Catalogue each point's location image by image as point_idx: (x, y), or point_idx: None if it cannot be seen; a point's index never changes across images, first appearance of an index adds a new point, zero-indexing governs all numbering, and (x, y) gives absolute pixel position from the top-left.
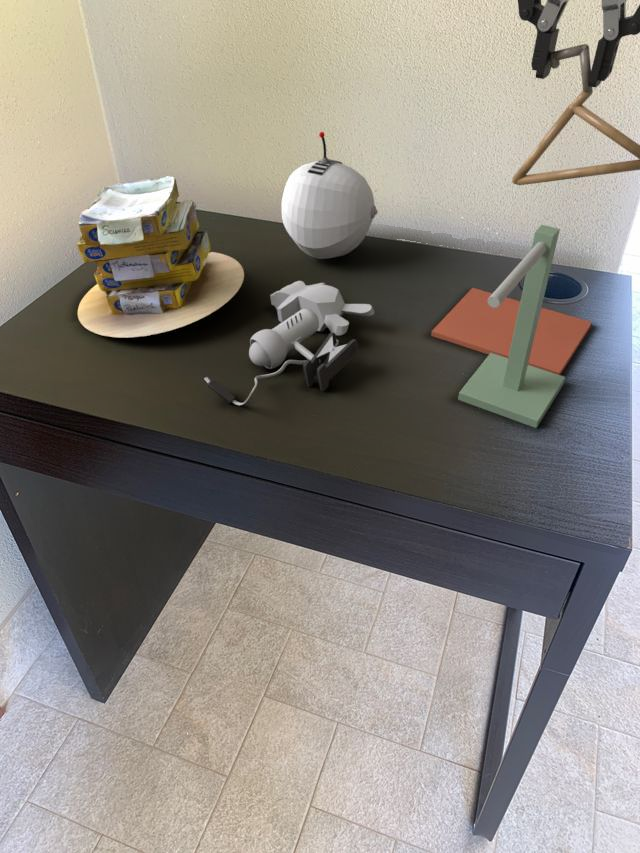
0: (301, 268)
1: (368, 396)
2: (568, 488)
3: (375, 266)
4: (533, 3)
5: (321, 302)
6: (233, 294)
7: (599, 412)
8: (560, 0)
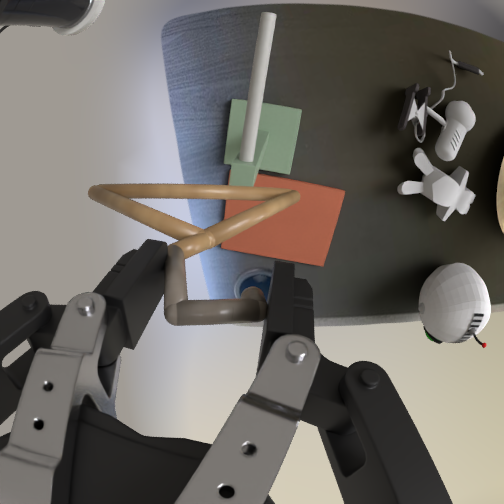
0: (456, 254)
1: (371, 92)
2: (198, 48)
3: (403, 275)
4: (349, 410)
5: (442, 177)
6: (499, 179)
7: (193, 138)
8: (241, 402)
